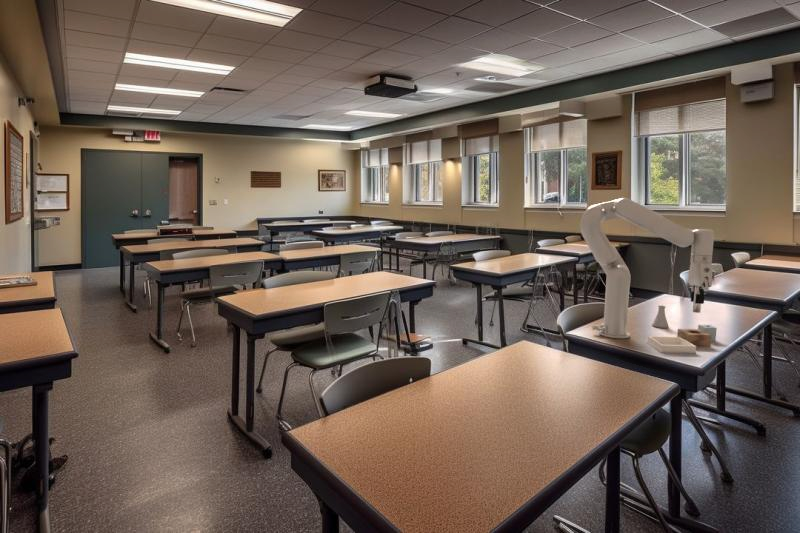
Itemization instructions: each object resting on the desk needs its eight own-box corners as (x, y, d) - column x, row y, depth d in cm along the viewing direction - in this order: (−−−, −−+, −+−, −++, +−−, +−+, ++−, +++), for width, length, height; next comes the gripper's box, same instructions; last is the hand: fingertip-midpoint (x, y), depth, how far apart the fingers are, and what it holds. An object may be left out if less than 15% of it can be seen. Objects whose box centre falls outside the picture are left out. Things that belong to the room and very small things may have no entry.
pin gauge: (694, 312, 201) (697, 284, 200) (691, 311, 204) (693, 283, 202) (701, 312, 201) (704, 284, 199) (698, 311, 204) (700, 283, 202)
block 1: (687, 346, 200) (688, 334, 200) (676, 340, 209) (677, 328, 208) (710, 346, 200) (711, 335, 199) (698, 340, 209) (699, 329, 208)
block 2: (703, 341, 208) (704, 327, 208) (697, 337, 213) (698, 324, 213) (715, 341, 208) (716, 327, 207) (708, 338, 213) (710, 324, 212)
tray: (661, 352, 191) (662, 345, 191) (647, 343, 204) (647, 336, 204) (695, 353, 191) (696, 346, 190) (679, 344, 203) (679, 337, 203)
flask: (669, 326, 233) (671, 305, 232) (668, 329, 227) (669, 308, 226) (652, 323, 237) (654, 304, 236) (651, 327, 231) (652, 306, 230)
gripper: (722, 261, 191) (717, 307, 194) (699, 256, 207) (696, 298, 210) (702, 261, 192) (698, 306, 194) (681, 256, 208) (678, 298, 210)
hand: (697, 302), depth 202 cm, fingers closed on pin gauge, 2 cm apart
